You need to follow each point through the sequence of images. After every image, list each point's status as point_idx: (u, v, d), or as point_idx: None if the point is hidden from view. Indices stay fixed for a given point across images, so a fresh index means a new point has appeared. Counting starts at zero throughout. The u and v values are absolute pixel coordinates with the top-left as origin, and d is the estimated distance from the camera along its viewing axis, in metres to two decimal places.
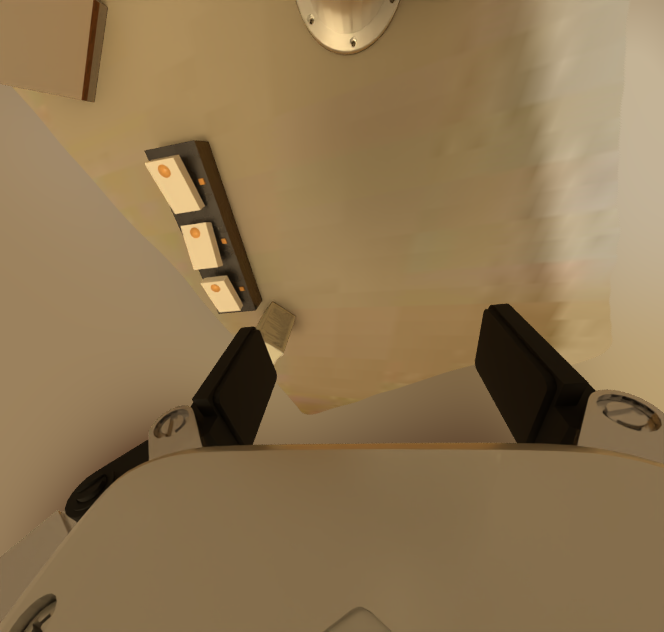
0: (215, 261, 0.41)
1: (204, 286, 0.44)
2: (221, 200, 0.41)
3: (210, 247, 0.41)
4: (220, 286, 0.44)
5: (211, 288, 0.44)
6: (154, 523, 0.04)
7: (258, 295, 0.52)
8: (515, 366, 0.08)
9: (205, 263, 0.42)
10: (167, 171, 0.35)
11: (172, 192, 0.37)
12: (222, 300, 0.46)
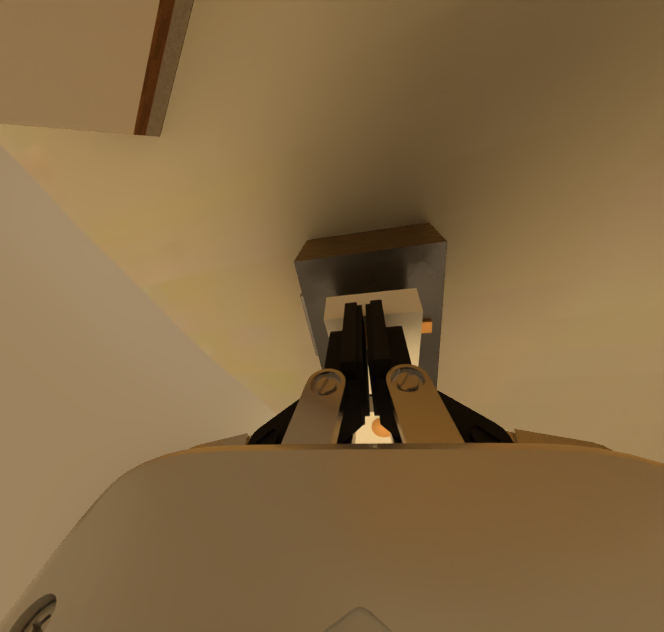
0: None
1: None
2: None
3: None
4: None
5: None
6: (154, 523, 0.04)
7: None
8: None
9: None
10: None
11: None
12: None
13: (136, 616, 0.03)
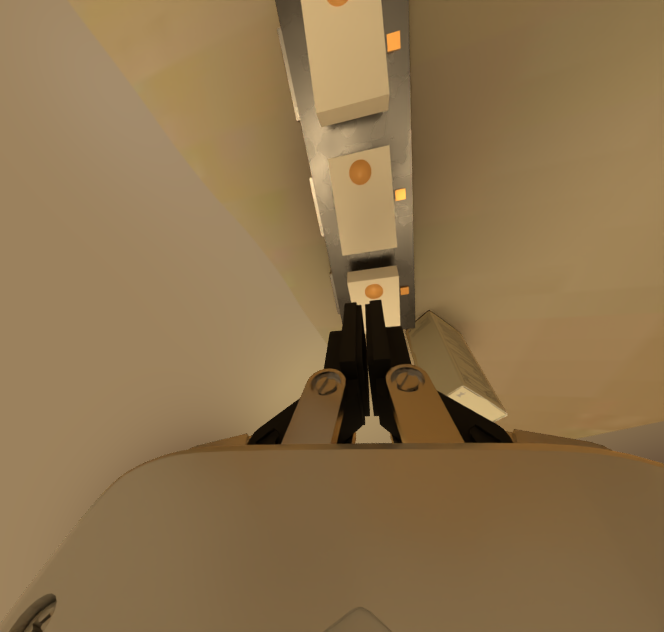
0: (393, 235, 0.20)
1: (352, 288, 0.22)
2: None
3: (389, 204, 0.19)
4: (385, 287, 0.22)
5: (365, 292, 0.23)
6: (154, 523, 0.04)
7: None
8: None
9: (370, 240, 0.20)
10: None
11: (334, 49, 0.15)
12: None
13: (136, 616, 0.03)
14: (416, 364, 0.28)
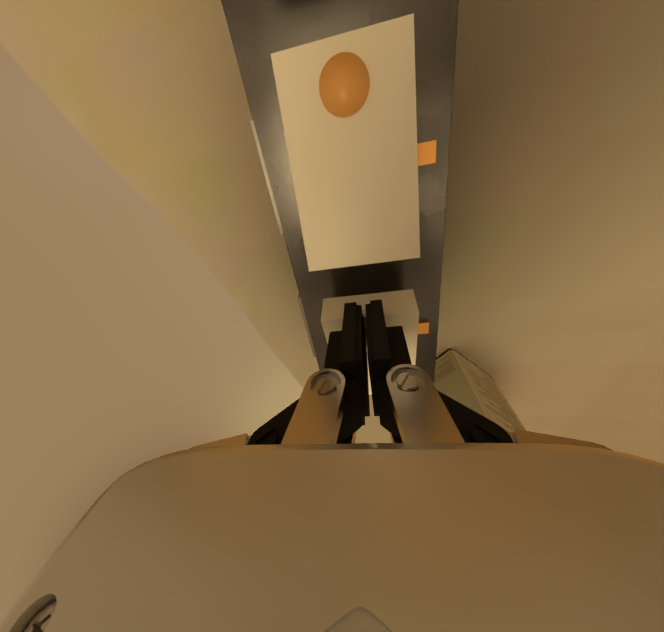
0: (414, 232, 0.09)
1: (331, 330, 0.12)
2: None
3: (407, 164, 0.09)
4: None
5: None
6: (154, 523, 0.04)
7: None
8: None
9: (365, 242, 0.10)
10: None
11: None
12: None
13: (136, 616, 0.03)
14: None
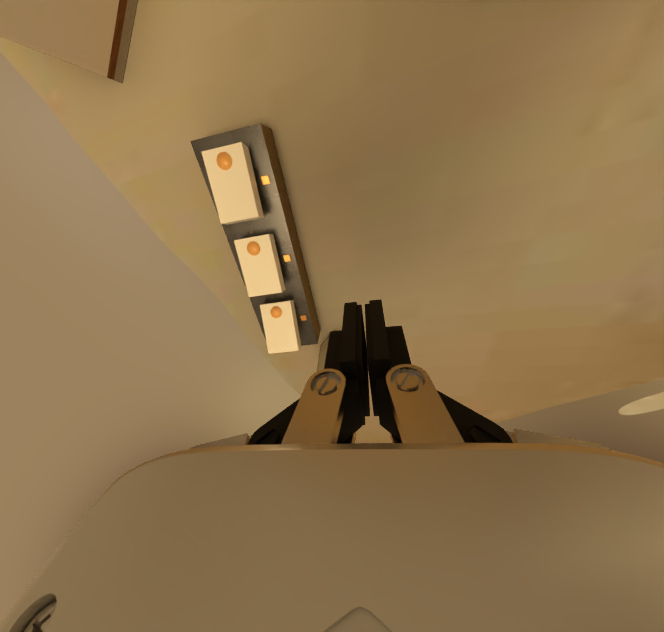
0: (278, 285, 0.31)
1: (263, 309, 0.35)
2: (285, 205, 0.31)
3: (273, 267, 0.30)
4: (283, 309, 0.34)
5: (271, 312, 0.35)
6: (154, 523, 0.04)
7: (318, 323, 0.41)
8: None
9: (265, 288, 0.31)
10: (229, 160, 0.25)
11: (226, 191, 0.27)
12: (278, 333, 0.35)
13: (136, 616, 0.03)
14: (317, 370, 0.38)
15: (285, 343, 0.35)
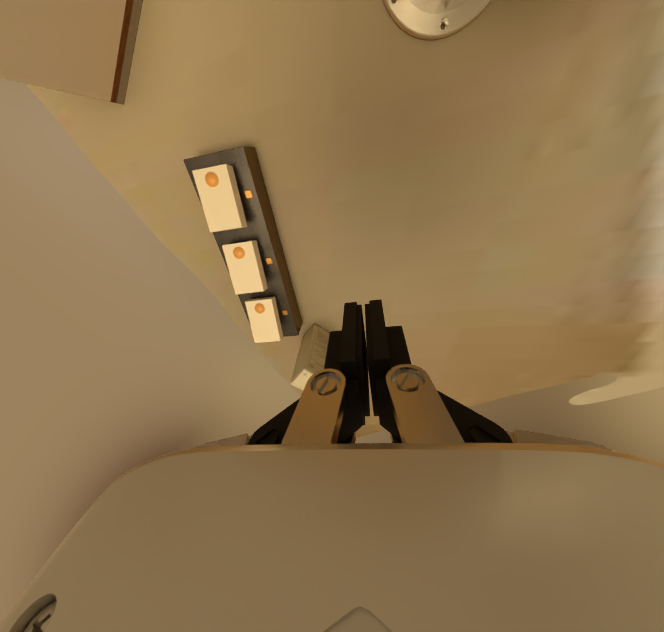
0: (261, 284, 0.36)
1: (248, 306, 0.39)
2: (267, 214, 0.35)
3: (256, 269, 0.35)
4: (265, 306, 0.39)
5: (255, 308, 0.39)
6: (154, 523, 0.04)
7: (299, 317, 0.46)
8: None
9: (249, 287, 0.36)
10: (215, 179, 0.30)
11: (214, 205, 0.31)
12: (262, 326, 0.40)
13: (136, 616, 0.03)
14: (297, 358, 0.44)
15: (268, 334, 0.41)
